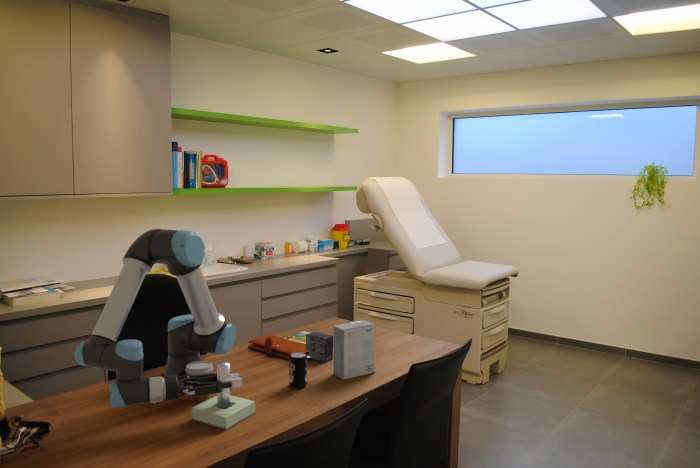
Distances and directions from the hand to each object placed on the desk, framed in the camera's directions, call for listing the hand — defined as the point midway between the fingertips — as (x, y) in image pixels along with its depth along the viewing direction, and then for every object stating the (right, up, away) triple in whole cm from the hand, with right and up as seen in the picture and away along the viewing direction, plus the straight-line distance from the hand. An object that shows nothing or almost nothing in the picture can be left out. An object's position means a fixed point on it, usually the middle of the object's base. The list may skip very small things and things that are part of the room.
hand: (240, 379), depth 178 cm
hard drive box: (+37, -8, +40) cm, 55 cm away
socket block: (-5, -12, -1) cm, 13 cm away
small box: (+22, -6, +57) cm, 62 cm away
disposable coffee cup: (-17, -10, +13) cm, 24 cm away
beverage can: (+16, -9, +26) cm, 32 cm away
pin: (-5, -8, -1) cm, 10 cm away
